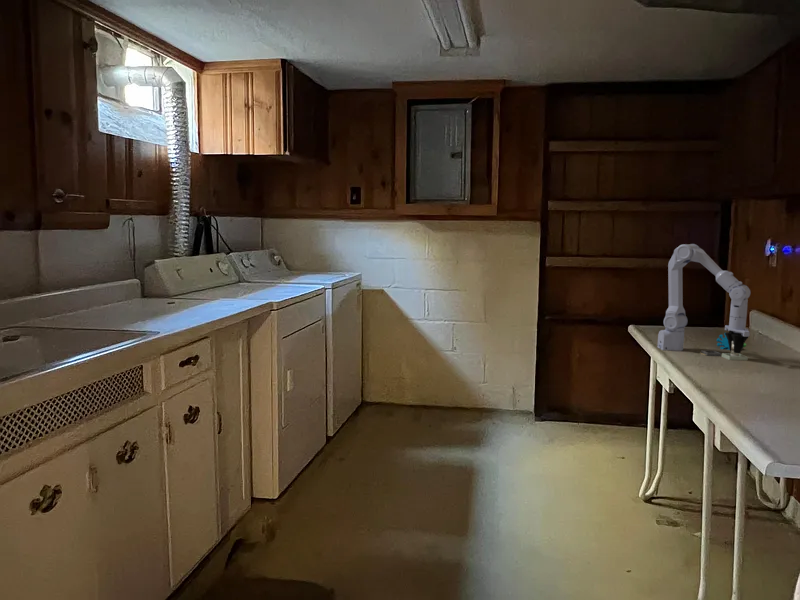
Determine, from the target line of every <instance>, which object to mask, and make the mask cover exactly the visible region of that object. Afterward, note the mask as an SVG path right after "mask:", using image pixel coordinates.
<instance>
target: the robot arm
mask: <svg viewBox="0 0 800 600" xmlns="http://www.w3.org/2000/svg"><path fill="white" fill-rule="evenodd" d="M690 262H693V263H694V262H695V263H700V264H701V265H702V266H703V267H704V268H706V269H707V270H708V271H709V272H710V273H711V274H712V275H714V276H715V282H716V283H717V284H718V285H719V286H720V287H722V288H723V290H725V292H727V293H729V294H728V295H729V296H728V297H730V299H731V301H730V308H729V309H730V311H729V322H728V325H727V324H726V325H725V326H724V331H728V332H724V333H725V335H726V337H727V339H728V343H729V349H730V350H729V352H731V347H732V341H733V343H734V353H739V354H741V352H742V350H743V349H742V347H743V345H744V343H746V341H747V340H748V339H749V337H750V331H749V328H747V326H746V325H747V317H748V303H749V302H748V301H749V300H748V299H749V298H750V296H751V289H750V288H749V286H747V285H746V284H743V282H742V281H741V280H740V281H739V280H738V278H736V277H735V276H734V273H733V272H732V271H729V270H723V269H722V268H721V267H720V266H719V265H718V264H717V263H716V262H715V261H714V260H713V258H711V257H710V255H709V254H707V253H706V251H705V250H704V249H703V248H701V247H700V246H699V245H697V244H695V243H690V244H687V243H685V244H684V243H683V244H680V245H679V246H678V247H677V246H676V248H675V249H674V250H673V253H672V255H671V258H670V259H669V261H668V265H667V267H668V269H667V271H668V274H667V275H668V276H667V277H668V279H667V280H668V282H667V283H668V285H667V286H668V308H667V309H666V310H665V316H664V318H663V326H664V327H665V329H661V330H659V331H658V334H657V348H658V349H660V350H661V351H671V352H672V351H674V352H681V351H684V341H685V327H686V326H687V325H688V317H687V316H686V315H687V314H686V310H685V308H684V305H683V303H684V302H683V299H684V297H683V296H684V295H683V292H684V291H683V282H684V281H683V268H684V267H685V266H686V265H688V263H690ZM725 335H724V336H725ZM743 348H744V347H743Z"/></svg>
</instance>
